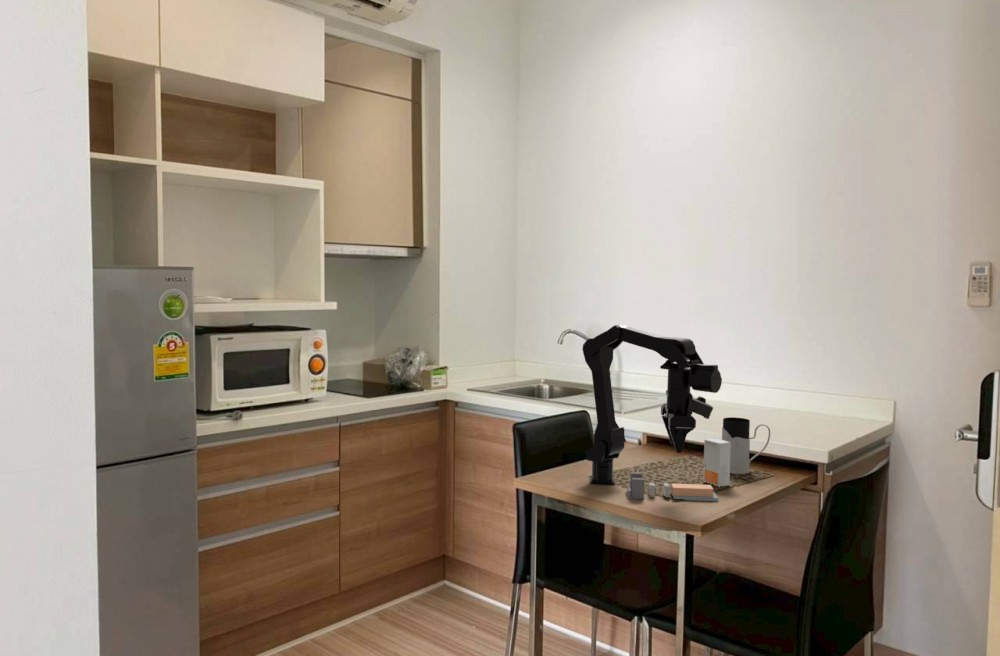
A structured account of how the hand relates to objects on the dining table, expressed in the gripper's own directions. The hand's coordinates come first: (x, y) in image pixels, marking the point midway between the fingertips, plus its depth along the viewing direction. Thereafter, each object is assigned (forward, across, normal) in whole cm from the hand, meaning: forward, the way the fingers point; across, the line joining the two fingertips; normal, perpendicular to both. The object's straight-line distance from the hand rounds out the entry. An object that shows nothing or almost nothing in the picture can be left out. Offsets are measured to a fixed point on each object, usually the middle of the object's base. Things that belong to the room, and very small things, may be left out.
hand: (676, 448), depth 198 cm
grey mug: (+13, +32, -25) cm, 42 cm away
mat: (+12, 0, -5) cm, 14 cm away
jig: (+13, +1, +6) cm, 14 cm away
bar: (+12, +1, -4) cm, 13 cm away
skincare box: (+13, +15, -14) cm, 24 cm away
